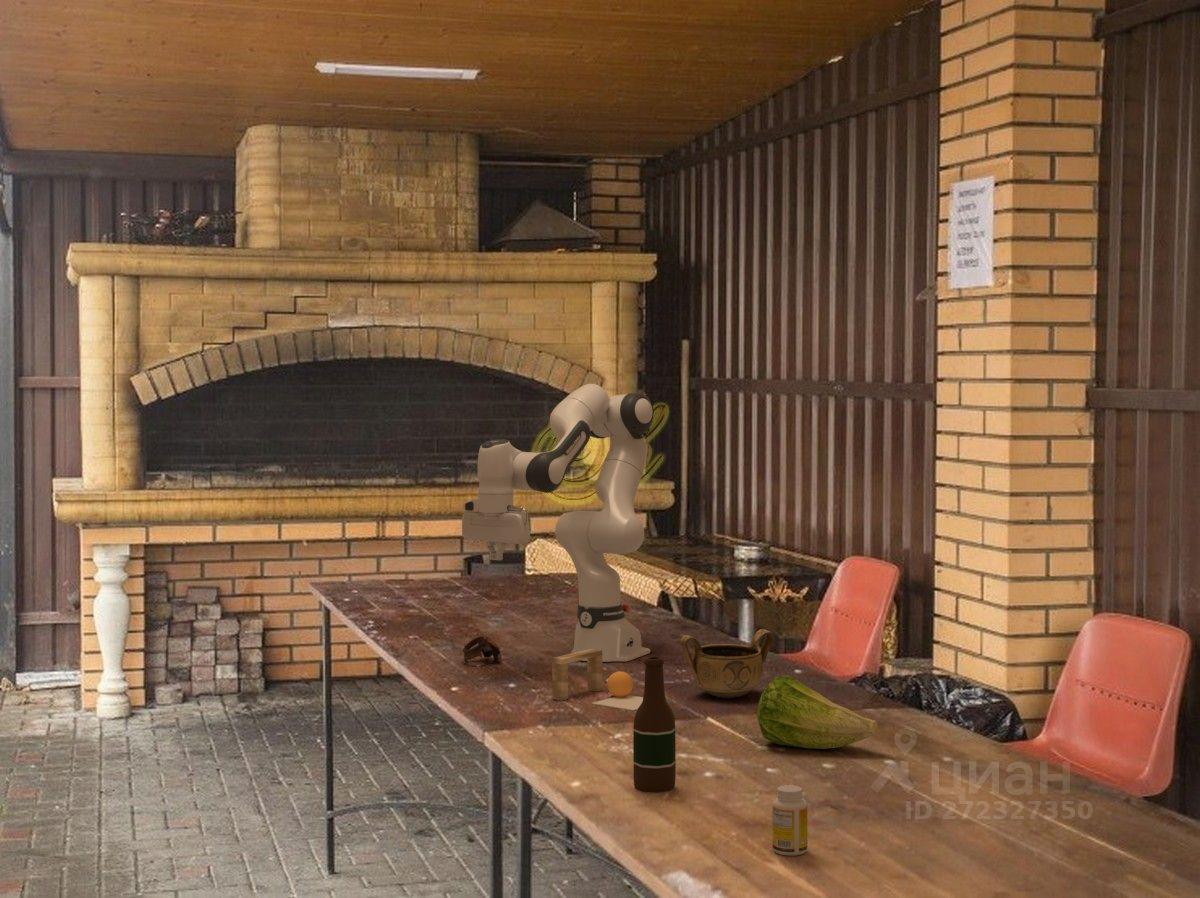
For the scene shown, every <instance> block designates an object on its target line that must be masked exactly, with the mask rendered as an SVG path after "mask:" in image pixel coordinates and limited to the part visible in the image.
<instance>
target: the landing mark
mask: <svg viewBox="0 0 1200 898" xmlns="http://www.w3.org/2000/svg"><path fill="white" fill-rule="evenodd" d="M642 702H643V696H636V695H631V694H628V695H627V696H625V697H616V696H613V697H609V698H604V699H602V700H598V701H594V702H591V705H595V706H596V705H597V706H601V707H602V706H603V707H608V708H615V709H620V710H628V711H633V712H634V711H637V710H638V708H639V706H640V705H641V703H642Z"/></svg>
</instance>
